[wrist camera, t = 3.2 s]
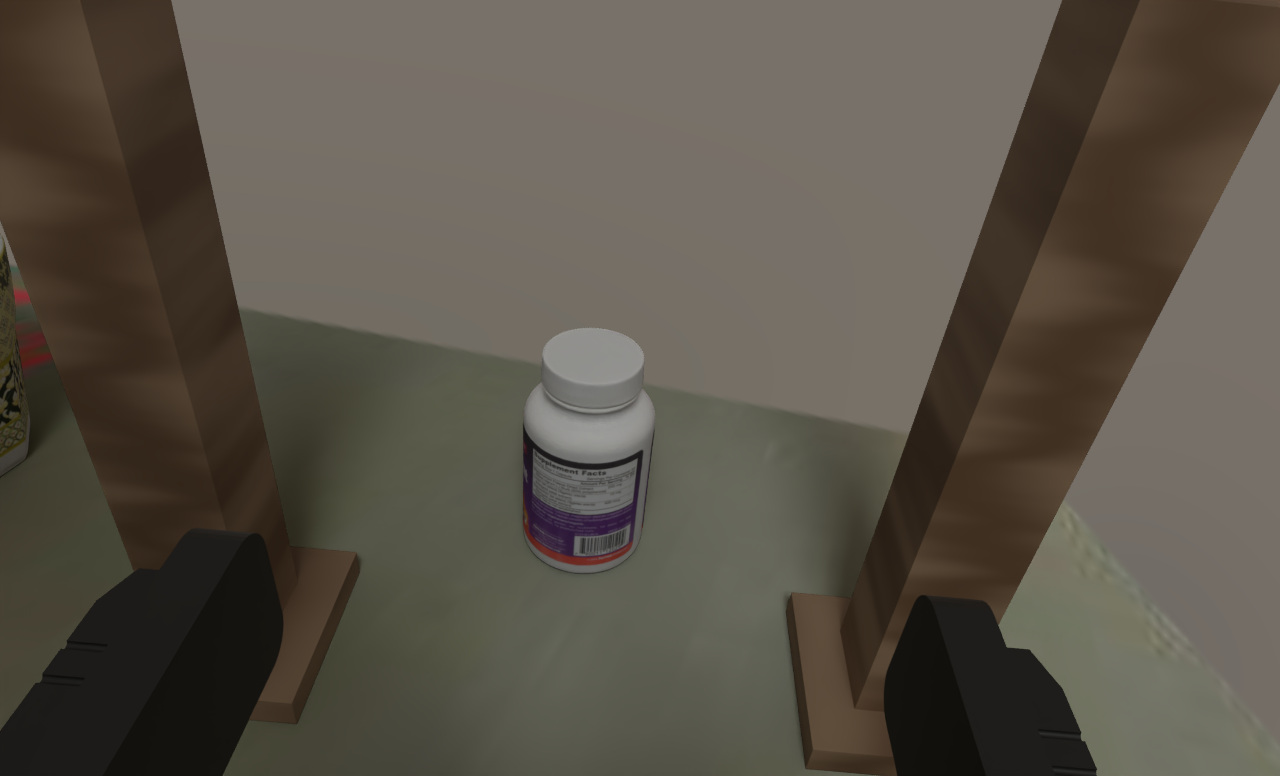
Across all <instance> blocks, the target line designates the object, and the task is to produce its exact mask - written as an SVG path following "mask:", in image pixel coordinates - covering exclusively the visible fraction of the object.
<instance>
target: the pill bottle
mask: <svg viewBox="0 0 1280 776" xmlns="http://www.w3.org/2000/svg"><path fill="white" fill-rule="evenodd" d="M643 378H644V354H643V352H642V350H641V348H640V346H639V345H638V344H637V343H636V342H635V341H633V340H632V339H631V338H629V337H627V336H625V335H623V334H621V333H618V332H615V331H612V330H607V329H600V328H579V329H573V330H569V331H565V332H563V333H560V334H558V335H556V336H555V337H553V338H552V339H551V340H549V341H548V342H547V344H546V345H545V347H544V349H543V353H542V368H541V379H542V382H541V383H540V384H539V385H537V386H536V387H535V388H534V390H533V391H532V392H531V394H530V395H529V397H528V399H527V401H526V404H525V408H524V417H523V530H524V536H525V539H526V542H527V544H528V546H529V547H530V549H531V550H532V552H533V553H534V554H535V555H536V556H537V557H538V558H539V559H541V560H542V561H543V562H545V563H546V564H548V565H550V566H552V567H555V568H557V569H560V570H563V571H567V572H572V573H596V572H601V571H605V570H608V569H611V568H613V567H615V566H617V565H619V564H621V563H622V562H623V561H625V560H626V559H627V558H628V557H629V556H630V555H631V554H632V553H633V552H634V550H635V549H636V547H637V545H638V543H639V540H640V537H641V532H642V527H643V520H644V512H645V503H646V495H647V486H648V478H649V470H650V462H651V455H652V446H653V438H654V429H655V411H654V407H653V404H652V401H651V400H650V398H649V396H648V395H647V393H646V392H645V391H644V390H643V389H642V385H643Z"/></svg>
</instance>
